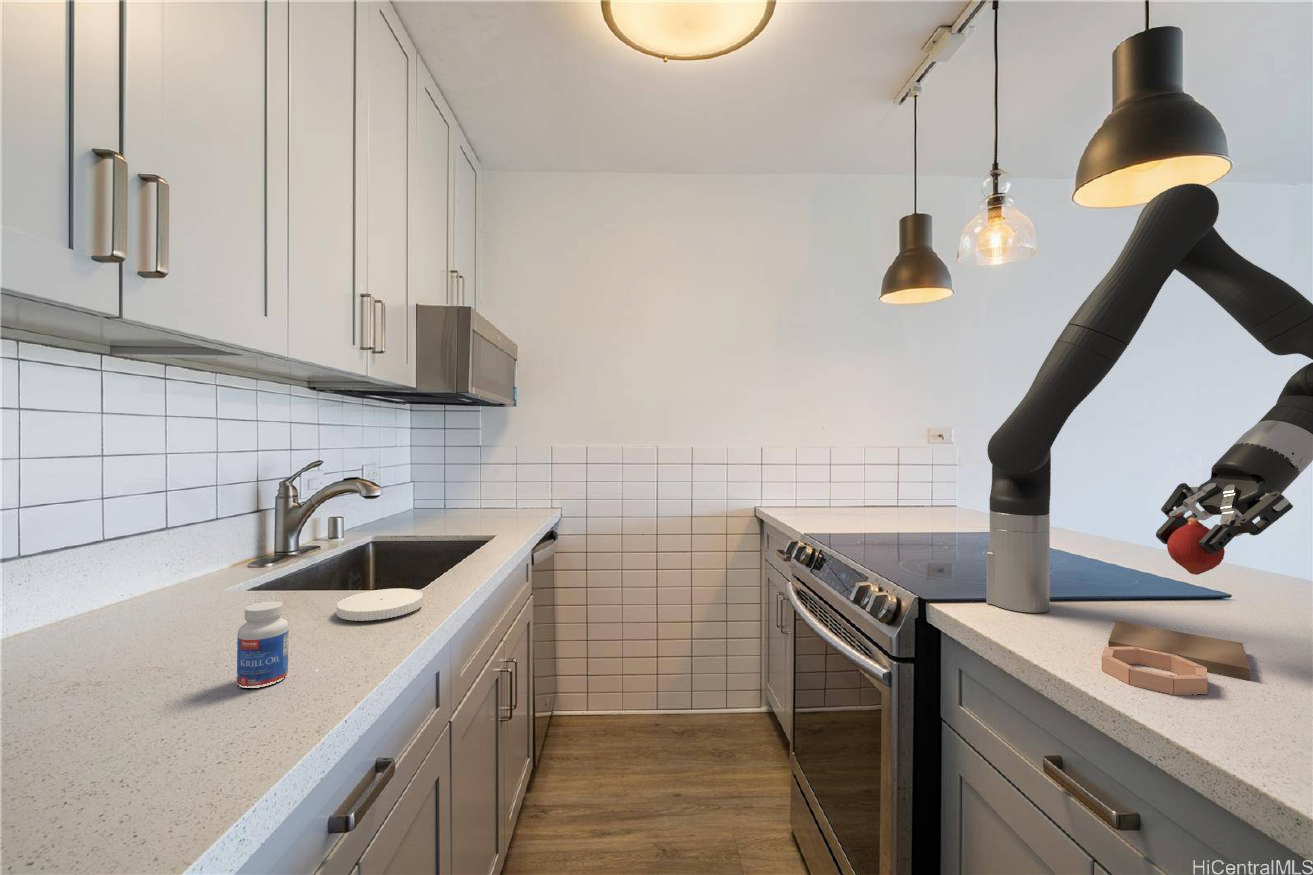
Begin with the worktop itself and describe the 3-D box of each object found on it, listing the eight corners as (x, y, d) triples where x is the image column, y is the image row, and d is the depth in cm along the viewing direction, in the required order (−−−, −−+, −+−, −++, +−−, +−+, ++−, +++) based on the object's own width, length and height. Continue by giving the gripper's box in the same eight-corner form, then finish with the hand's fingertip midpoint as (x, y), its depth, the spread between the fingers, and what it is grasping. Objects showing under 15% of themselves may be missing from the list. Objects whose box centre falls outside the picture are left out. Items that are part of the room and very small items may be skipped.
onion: (1209, 571, 80) (1208, 516, 80) (1235, 581, 74) (1235, 522, 74) (1159, 568, 82) (1158, 514, 82) (1181, 578, 76) (1180, 520, 76)
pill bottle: (232, 694, 67) (231, 615, 67) (241, 677, 72) (241, 603, 72) (286, 685, 70) (285, 608, 70) (291, 669, 75) (290, 597, 75)
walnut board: (1108, 651, 80) (1108, 640, 80) (1115, 629, 89) (1115, 620, 89) (1249, 680, 70) (1249, 668, 70) (1242, 653, 79) (1242, 643, 79)
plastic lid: (415, 622, 94) (415, 608, 94) (324, 629, 91) (324, 614, 91) (429, 599, 108) (429, 586, 108) (350, 604, 104) (350, 591, 104)
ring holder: (1099, 677, 71) (1099, 662, 71) (1106, 655, 78) (1107, 641, 78) (1208, 703, 64) (1208, 686, 64) (1205, 676, 72) (1206, 660, 72)
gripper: (1195, 440, 85) (1120, 518, 85) (1307, 442, 71) (1217, 535, 71) (1229, 474, 85) (1154, 552, 85) (1347, 482, 71) (1257, 576, 71)
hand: (1183, 544), depth 78 cm, fingers closed on onion, 5 cm apart
